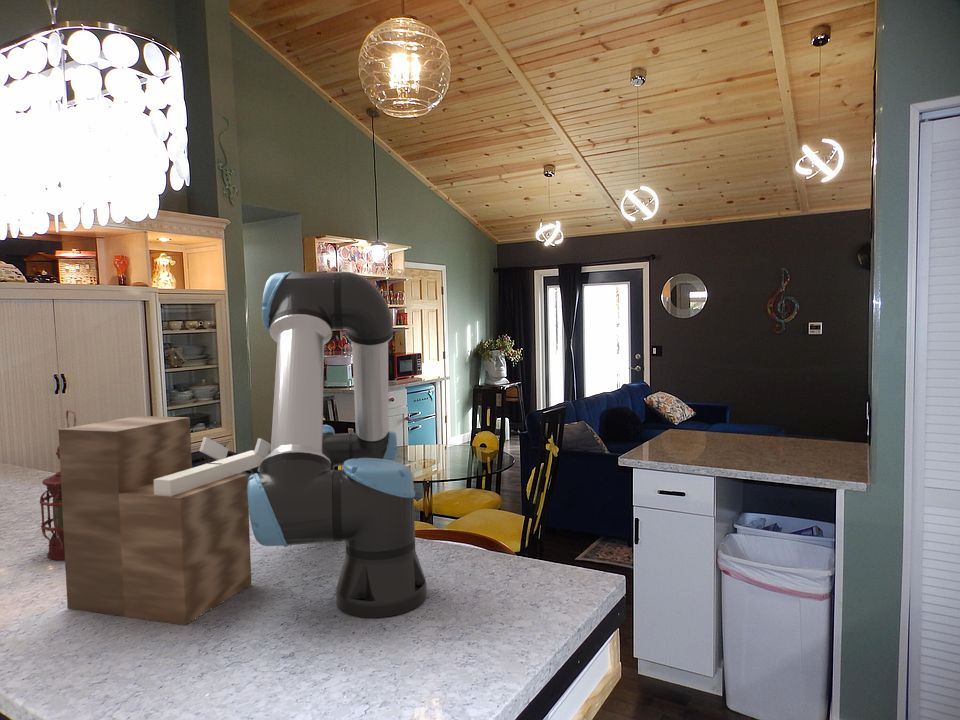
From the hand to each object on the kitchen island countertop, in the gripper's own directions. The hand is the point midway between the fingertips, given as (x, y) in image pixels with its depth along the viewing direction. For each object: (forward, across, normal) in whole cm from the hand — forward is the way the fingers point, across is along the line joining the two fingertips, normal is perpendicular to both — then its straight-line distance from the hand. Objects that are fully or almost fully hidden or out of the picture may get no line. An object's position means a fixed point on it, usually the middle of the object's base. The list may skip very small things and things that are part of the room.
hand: (229, 444), depth 114 cm
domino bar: (+2, -1, -7) cm, 7 cm away
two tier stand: (-4, +7, -26) cm, 28 cm away
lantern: (-15, +43, -20) cm, 50 cm away
